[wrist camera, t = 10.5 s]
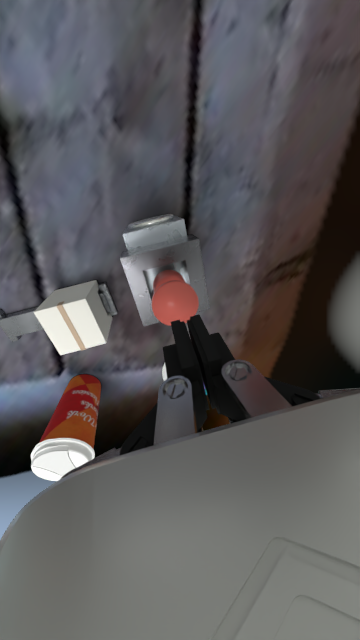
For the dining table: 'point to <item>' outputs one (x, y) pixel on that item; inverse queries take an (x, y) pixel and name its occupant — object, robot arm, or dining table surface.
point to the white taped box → (75, 318)
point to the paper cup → (69, 430)
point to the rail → (29, 323)
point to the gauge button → (173, 298)
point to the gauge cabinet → (161, 260)
